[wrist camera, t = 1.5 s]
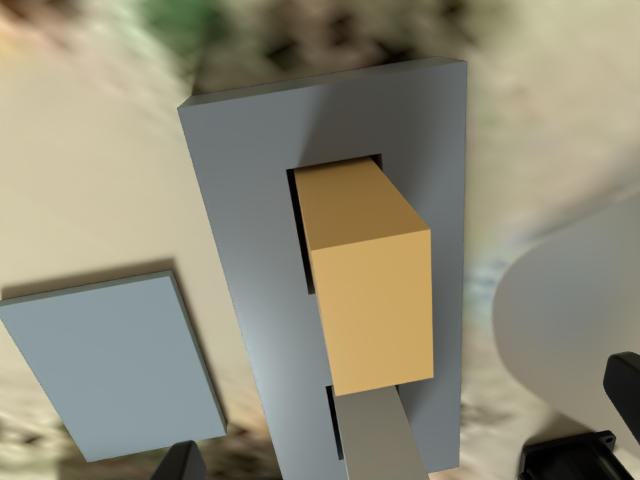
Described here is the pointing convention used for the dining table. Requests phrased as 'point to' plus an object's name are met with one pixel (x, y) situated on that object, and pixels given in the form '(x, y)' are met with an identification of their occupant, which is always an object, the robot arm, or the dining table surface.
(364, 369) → the tan rectangular block
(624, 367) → the robot arm
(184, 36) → the dining table surface
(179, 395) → the slate mat
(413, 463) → the grey plug
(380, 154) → the header
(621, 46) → the dining table surface
